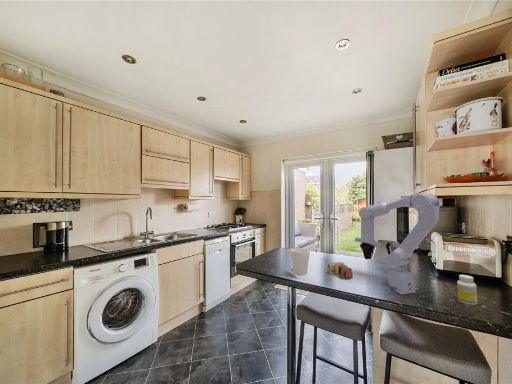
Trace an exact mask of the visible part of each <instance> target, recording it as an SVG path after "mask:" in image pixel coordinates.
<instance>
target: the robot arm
mask: <svg viewBox="0 0 512 384" xmlns="http://www.w3.org/2000/svg"><path fill="white" fill-rule="evenodd" d="M406 206H407V207H408V206H409V207H413V208H414V209H415V210H416V211H417V212H418V215H419V218H420V219H419V220H418V221H417V222H416V223H415V225H414V227H413V228H412V229H411V230H410V232H409V233H408V234H407V236H406V237H405V238H404V239H403V240H402V243H401V245H400V246H399V247H398V248H397V249H395V250H394V251H393V252H391V254H389V255H388V254H386V255H385V257H384V264H385V265H386V266H387V285H388V286H390V287H392V288H391V289H390V290H391V291H394V292H395V293H398V294H400V295H408V294H414V293H417V291H416V290H415V288H416V287H415V275H414V274H413V273H412V272H411V273H410V272H408V271H407V265H408V264H409V265H410V262H411V261H410V260H411V259H412V256H413V253H414V251H415V250H416V249H417V248H418V246H419V245H420V244H421V243H422V242H423V241H424V239H425V238H426V236H428V234H429V233H430V232H431V231H432V230H433V228H434V227H435V226H436V225H437V224H438V222H439V221H440V217H439V216H440V207H441V203H440V200H439V198H438V197H437V196H436V195H435V194H432V193H421V192H418V193H416V194H410V195H407V196H406V195H405V196H404V197H401V198H399V199H396V200H394V201H390V202H386V201H377V203H376V204H373V205H372V204H369V205H368V207H365V206H363V207H361V208H360V209H359V210H358V216H359V218H360V237H355V238H354V242H357V243H360V244H359V247H360V248H361V250H362V254H363V257H364V260H371V255H372V252H373V251H374V249H375V248H382V243H381V242H378V241H376V240H375V237H374V236H375V234H374V233H375V223H374V222H375V218H376V217H381V216H383V215H388V214H389V213H390V212H391V210H395V209H398V208H403V207H406Z"/></svg>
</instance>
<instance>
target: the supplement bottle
mask: <svg viewBox="0 0 512 384" xmlns="http://www.w3.org/2000/svg"><path fill="white" fill-rule="evenodd" d="M458 278H459V279H458V280H457V282H456V287H457V288H456V289H457V300H458V301H459V302H461V303H463V304H466V305H471V306H475V305H477V304H478V295H477V284H476V283H475V282H474V277H473V276H471V275H467V274H459V275H458Z"/></svg>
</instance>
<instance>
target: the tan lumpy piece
mask: <svg viewBox="0 0 512 384" xmlns="http://www.w3.org/2000/svg"><path fill="white" fill-rule="evenodd" d="M346 266H347V265H346V264H345V263H344V264H336V265H334V273H335V274H337V275H341V273H340V268H341V267H346Z"/></svg>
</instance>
